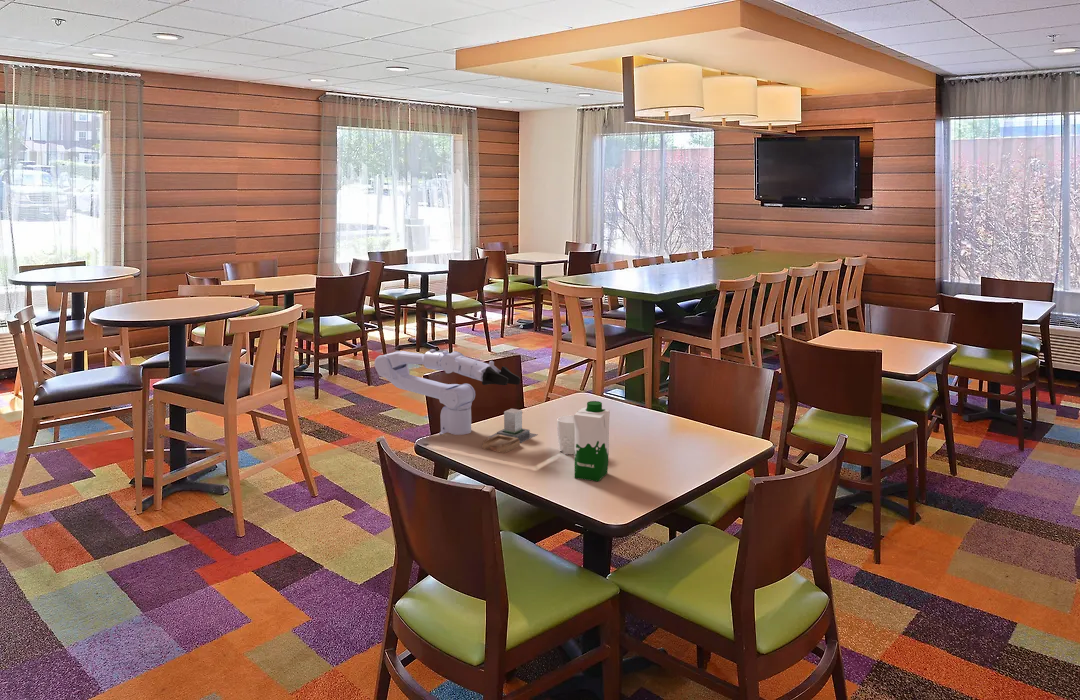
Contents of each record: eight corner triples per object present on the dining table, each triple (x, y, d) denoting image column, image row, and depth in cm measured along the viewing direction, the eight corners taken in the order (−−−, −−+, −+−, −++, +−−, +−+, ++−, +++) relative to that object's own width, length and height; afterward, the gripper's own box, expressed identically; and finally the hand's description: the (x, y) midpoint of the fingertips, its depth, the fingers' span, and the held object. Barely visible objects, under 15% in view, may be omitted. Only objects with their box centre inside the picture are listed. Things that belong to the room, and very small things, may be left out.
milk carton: (611, 472, 216) (612, 402, 212) (600, 483, 208) (601, 411, 204) (581, 468, 220) (582, 399, 216) (569, 478, 212) (570, 407, 208)
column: (503, 436, 245) (503, 411, 244) (511, 432, 249) (511, 408, 247) (515, 438, 243) (514, 413, 241) (522, 434, 246) (522, 410, 245)
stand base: (488, 439, 245) (488, 432, 244) (506, 431, 253) (506, 424, 253) (520, 446, 239) (520, 438, 238) (537, 437, 247) (537, 429, 247)
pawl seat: (482, 451, 234) (482, 441, 233) (497, 444, 241) (497, 433, 240) (504, 456, 230) (504, 445, 229) (519, 448, 237) (519, 438, 236)
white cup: (581, 456, 230) (581, 423, 228) (554, 454, 231) (554, 421, 229) (585, 447, 237) (585, 415, 235) (559, 446, 239) (559, 414, 237)
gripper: (466, 357, 236) (504, 368, 230) (491, 357, 249) (527, 368, 243) (461, 379, 237) (499, 392, 231) (486, 378, 250) (522, 390, 244)
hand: (513, 381), depth 237 cm, fingers open, 7 cm apart
